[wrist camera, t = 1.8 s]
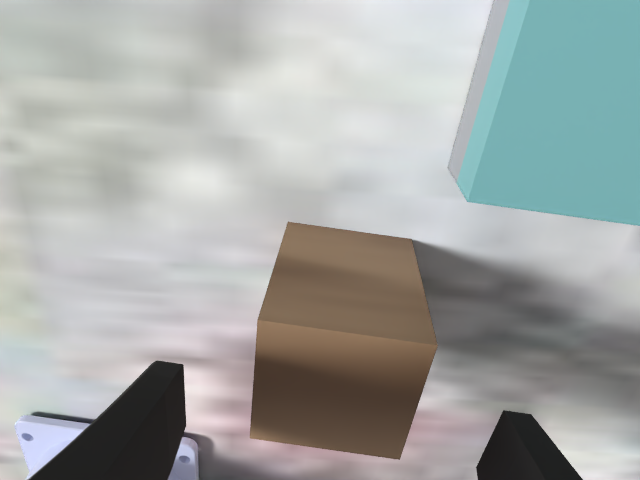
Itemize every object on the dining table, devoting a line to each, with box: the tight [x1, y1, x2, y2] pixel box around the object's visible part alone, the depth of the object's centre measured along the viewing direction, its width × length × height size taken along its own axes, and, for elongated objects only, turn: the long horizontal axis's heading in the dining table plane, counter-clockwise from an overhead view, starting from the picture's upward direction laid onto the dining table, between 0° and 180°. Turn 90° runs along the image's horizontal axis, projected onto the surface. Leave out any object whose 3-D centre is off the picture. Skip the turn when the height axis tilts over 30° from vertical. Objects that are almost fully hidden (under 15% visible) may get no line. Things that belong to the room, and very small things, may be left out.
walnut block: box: [250, 222, 438, 460], centre depth 13 cm, size 4×4×5 cm
